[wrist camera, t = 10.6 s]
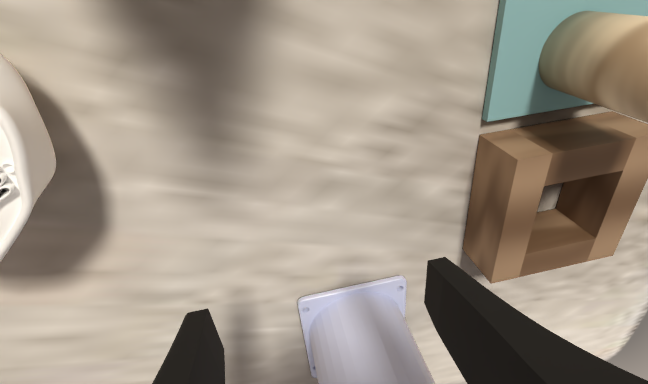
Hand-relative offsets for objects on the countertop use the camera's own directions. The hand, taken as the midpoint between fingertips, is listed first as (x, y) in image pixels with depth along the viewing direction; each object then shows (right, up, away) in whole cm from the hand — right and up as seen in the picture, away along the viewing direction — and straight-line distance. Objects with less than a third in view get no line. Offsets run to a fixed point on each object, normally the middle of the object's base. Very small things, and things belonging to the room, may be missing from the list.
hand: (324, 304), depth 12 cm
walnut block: (+14, +4, +13) cm, 19 cm away
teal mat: (+13, +12, +8) cm, 19 cm away
